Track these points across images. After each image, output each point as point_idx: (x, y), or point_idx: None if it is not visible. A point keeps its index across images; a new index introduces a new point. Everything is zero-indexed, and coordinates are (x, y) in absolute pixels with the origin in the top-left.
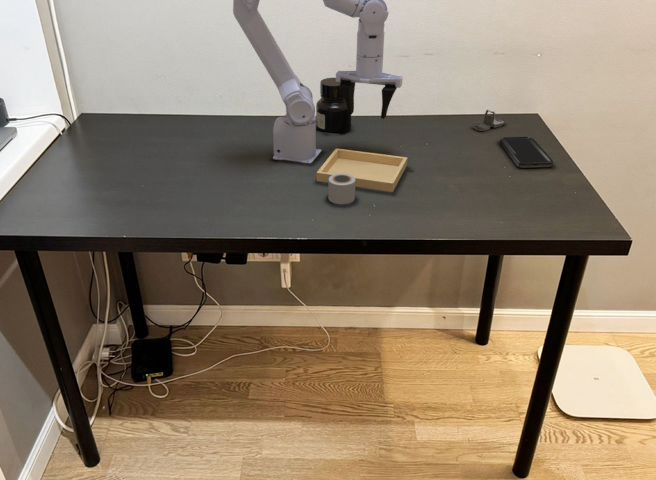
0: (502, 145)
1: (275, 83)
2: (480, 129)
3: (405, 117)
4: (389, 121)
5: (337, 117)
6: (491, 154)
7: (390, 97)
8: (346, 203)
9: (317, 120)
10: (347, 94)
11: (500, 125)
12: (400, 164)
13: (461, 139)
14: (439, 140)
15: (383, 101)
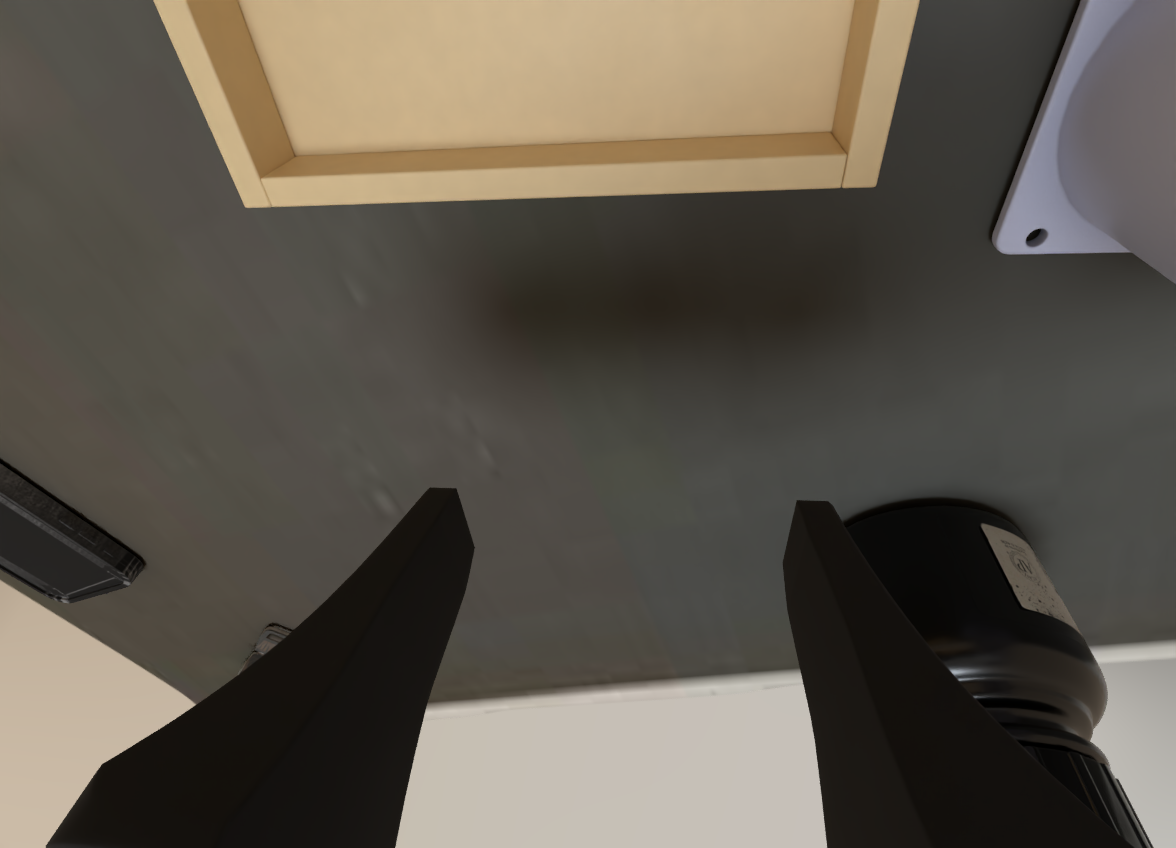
0: (101, 541)
1: None
2: (270, 633)
3: (589, 680)
4: (640, 650)
5: (915, 599)
6: (85, 472)
7: (188, 710)
8: None
9: (1050, 581)
10: (930, 752)
11: (244, 663)
12: (191, 29)
13: (286, 565)
14: (357, 543)
15: (336, 651)
